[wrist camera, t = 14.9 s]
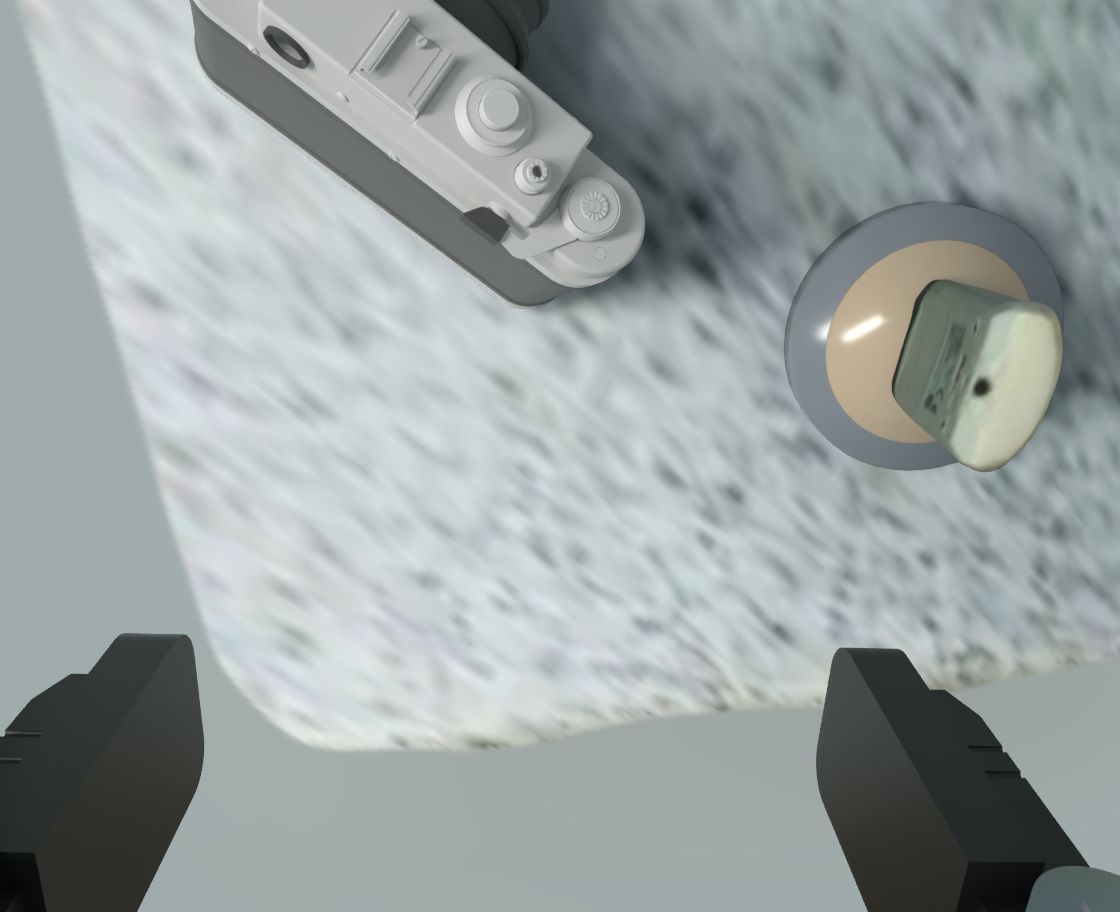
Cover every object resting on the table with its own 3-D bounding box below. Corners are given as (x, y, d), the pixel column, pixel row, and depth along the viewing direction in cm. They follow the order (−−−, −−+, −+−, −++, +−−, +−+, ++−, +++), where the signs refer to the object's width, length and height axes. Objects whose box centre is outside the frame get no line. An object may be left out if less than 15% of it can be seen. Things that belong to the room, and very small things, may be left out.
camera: (523, 341, 37) (619, 313, 28) (164, 77, 33) (125, -68, 23) (643, 159, 39) (775, 72, 29) (313, -118, 34) (336, -334, 24)
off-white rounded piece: (846, 296, 37) (927, 346, 29) (973, 244, 36) (1089, 280, 29) (885, 422, 39) (970, 498, 31) (1007, 374, 38) (1123, 440, 31)
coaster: (779, 219, 37) (791, 224, 36) (1053, 185, 37) (1076, 189, 36) (787, 471, 41) (797, 485, 40) (1035, 442, 41) (1054, 455, 39)
